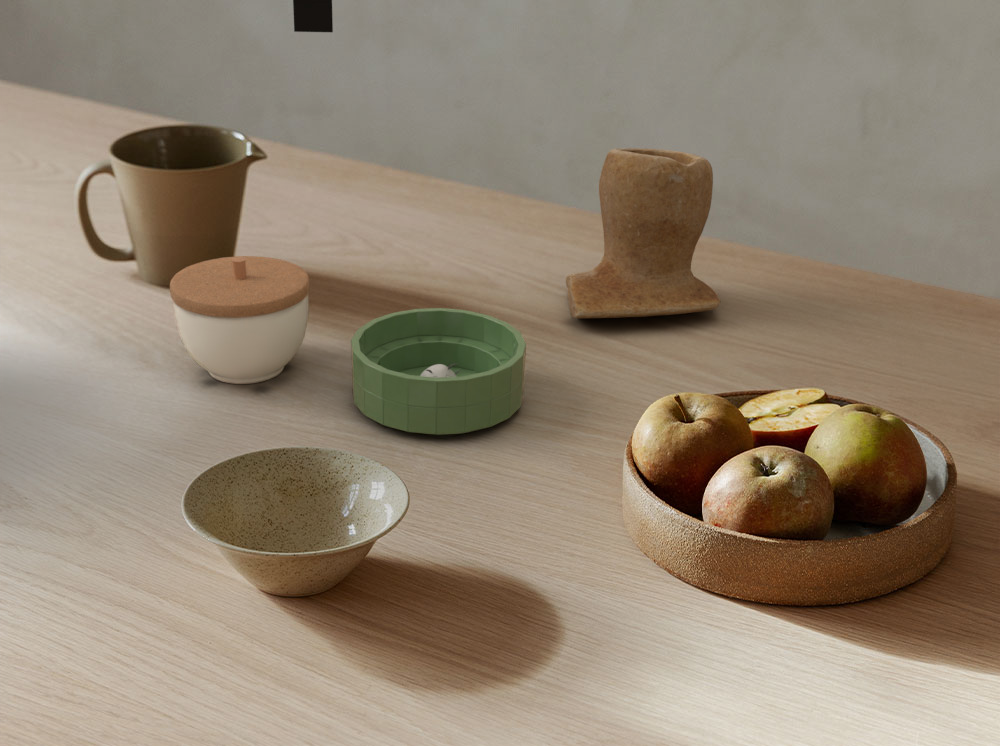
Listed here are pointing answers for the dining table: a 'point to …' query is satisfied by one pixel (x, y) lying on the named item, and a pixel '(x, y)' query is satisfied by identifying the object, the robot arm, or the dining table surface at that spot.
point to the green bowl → (429, 341)
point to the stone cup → (647, 237)
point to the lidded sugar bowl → (241, 315)
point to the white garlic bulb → (439, 371)
